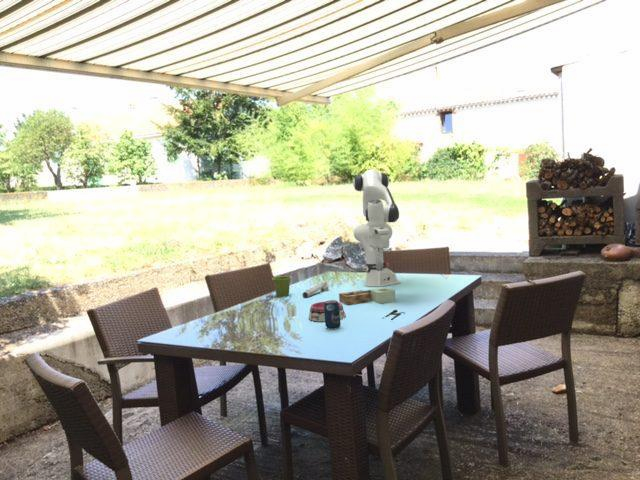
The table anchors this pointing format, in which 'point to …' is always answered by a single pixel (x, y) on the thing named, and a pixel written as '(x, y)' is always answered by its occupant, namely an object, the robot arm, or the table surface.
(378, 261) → the peg
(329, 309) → the soda can
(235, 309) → the table surface
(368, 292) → the block
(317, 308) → the dog bowl
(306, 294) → the white elongated piece
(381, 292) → the square hole block
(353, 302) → the socket block
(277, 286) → the plant pot
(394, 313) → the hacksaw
